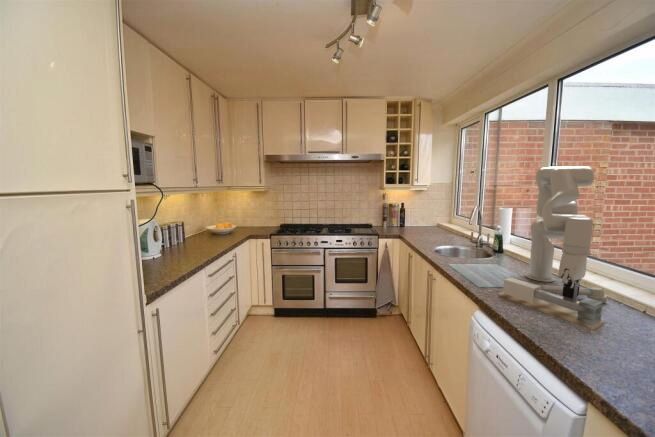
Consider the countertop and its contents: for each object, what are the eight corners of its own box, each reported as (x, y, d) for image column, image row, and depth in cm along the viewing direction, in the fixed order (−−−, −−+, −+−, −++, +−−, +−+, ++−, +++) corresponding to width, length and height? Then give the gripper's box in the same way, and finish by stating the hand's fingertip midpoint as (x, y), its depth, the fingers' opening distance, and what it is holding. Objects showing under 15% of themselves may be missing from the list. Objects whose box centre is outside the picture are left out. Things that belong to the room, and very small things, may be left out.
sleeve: (503, 293, 123) (504, 279, 122) (509, 290, 125) (510, 277, 124) (532, 303, 112) (533, 288, 112) (539, 300, 115) (540, 286, 114)
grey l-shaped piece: (526, 294, 115) (528, 271, 114) (530, 293, 116) (532, 270, 115) (591, 316, 97) (594, 288, 95) (594, 314, 98) (598, 286, 96)
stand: (498, 295, 123) (499, 277, 122) (509, 291, 127) (511, 274, 126) (593, 329, 94) (595, 307, 93) (604, 323, 98) (607, 302, 97)
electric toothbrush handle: (532, 282, 128) (603, 284, 116) (533, 296, 129) (604, 299, 117) (534, 286, 124) (608, 288, 112) (535, 300, 124) (609, 304, 112)
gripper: (573, 245, 107) (568, 288, 110) (552, 250, 100) (547, 296, 103) (598, 249, 101) (592, 295, 103) (577, 255, 93) (571, 304, 96)
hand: (570, 295), depth 103 cm, fingers closed on grey l-shaped piece, 3 cm apart
